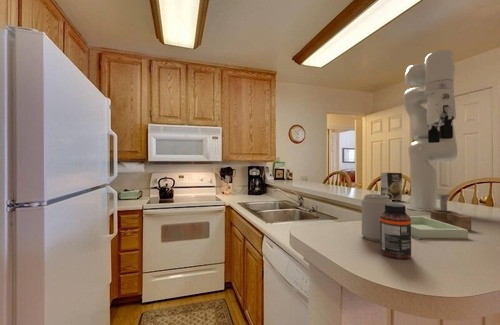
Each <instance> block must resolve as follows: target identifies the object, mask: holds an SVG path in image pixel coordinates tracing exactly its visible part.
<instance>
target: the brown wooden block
mask: <svg viewBox="0 0 500 325" xmlns="http://www.w3.org/2000/svg"><path fill="white" fill-rule="evenodd" d="M430 219H433V220H437V221H440V222H443V223H447V224H450V225H453V226H457V227H460V228H463V229H467V230H468V231H472V228H471V227H472V216H469V215H466V214H460V213H459V212H457V211H452V210H448V209H447V213H443V212H440V210H431V211H430Z"/></svg>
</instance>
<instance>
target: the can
mask: <svg viewBox="0 0 500 325" xmlns="http://www.w3.org/2000/svg"><path fill="white" fill-rule="evenodd" d="M363 196H364V197H363V198H362V199H361V235H362V236H363V237H364V238H365V239H366V240H368V241H372V242H375V243H376V242H379V243H380V215H381V214H382V213H384V211H385V204H387V203H393V201H391V200H390V199H389V196H387V195H381V194H377V193H374V194H373V193H372V194H371V193H367V194H364V195H363Z"/></svg>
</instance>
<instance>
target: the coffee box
mask: <svg viewBox="0 0 500 325" xmlns="http://www.w3.org/2000/svg"><path fill="white" fill-rule="evenodd" d="M402 178H403V172H381V173H380V195H387V196H389V199H390V200H402V198H403V192H402V190H403V187H402V186H403V184H402V183H403V181H402V180H403V179H402ZM402 201H403V200H402Z"/></svg>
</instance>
